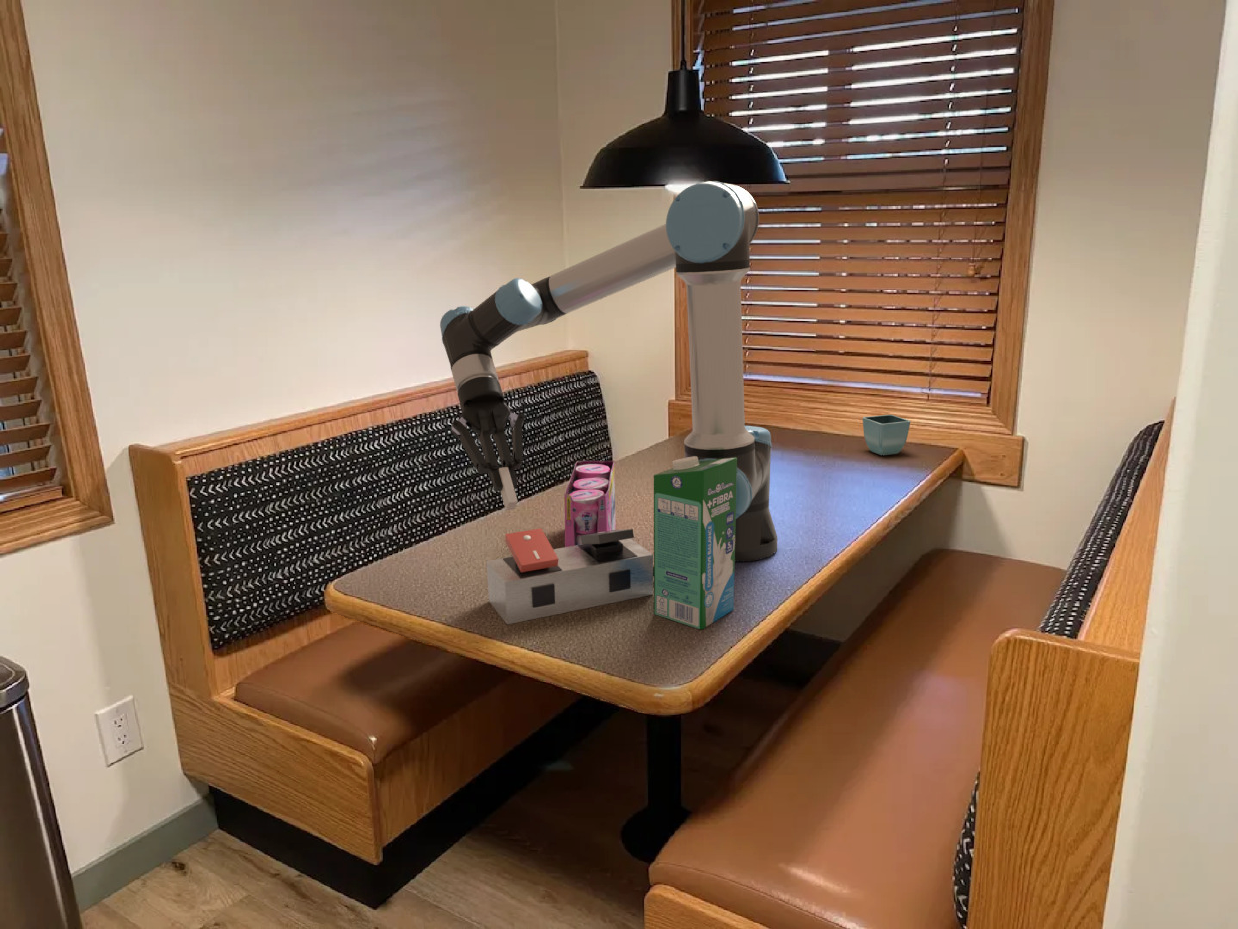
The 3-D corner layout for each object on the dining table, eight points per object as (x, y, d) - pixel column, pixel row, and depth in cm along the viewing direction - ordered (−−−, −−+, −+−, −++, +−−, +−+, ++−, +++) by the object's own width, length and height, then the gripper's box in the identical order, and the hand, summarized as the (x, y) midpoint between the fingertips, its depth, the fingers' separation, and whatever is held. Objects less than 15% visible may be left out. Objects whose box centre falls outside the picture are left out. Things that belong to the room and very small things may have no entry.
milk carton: (686, 595, 147) (688, 447, 140) (734, 610, 141) (737, 456, 134) (653, 614, 140) (652, 459, 133) (701, 630, 135) (703, 469, 128)
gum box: (608, 571, 158) (607, 497, 154) (563, 570, 158) (561, 497, 154) (616, 525, 181) (615, 460, 177) (577, 525, 181) (575, 460, 177)
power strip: (664, 567, 159) (664, 523, 156) (691, 587, 150) (691, 541, 148) (488, 601, 146) (486, 554, 143) (507, 625, 137) (505, 575, 135)
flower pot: (859, 450, 234) (861, 416, 231) (888, 447, 236) (891, 414, 234) (878, 458, 225) (880, 423, 223) (908, 455, 228) (911, 421, 226)
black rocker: (614, 538, 151) (613, 529, 151) (634, 537, 144) (632, 528, 144) (581, 544, 149) (580, 535, 149) (599, 543, 142) (598, 534, 142)
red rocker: (540, 535, 146) (541, 527, 145) (557, 565, 140) (558, 558, 139) (505, 541, 144) (505, 533, 143) (521, 572, 138) (521, 565, 137)
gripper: (510, 396, 162) (544, 511, 151) (438, 402, 156) (469, 522, 146) (518, 371, 155) (554, 489, 145) (443, 377, 150) (476, 500, 140)
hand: (511, 505), depth 146 cm, fingers closed
